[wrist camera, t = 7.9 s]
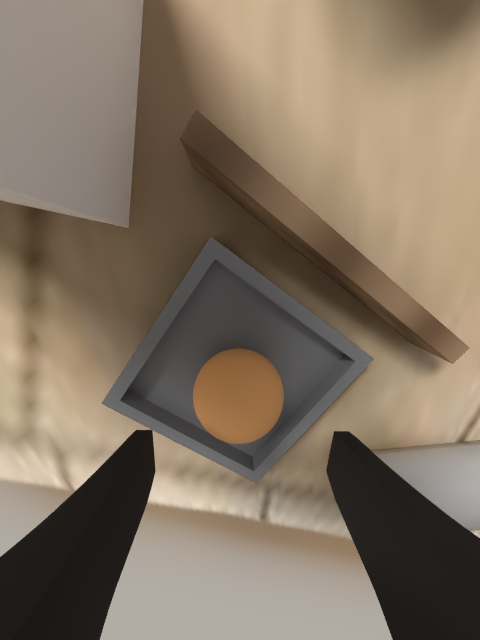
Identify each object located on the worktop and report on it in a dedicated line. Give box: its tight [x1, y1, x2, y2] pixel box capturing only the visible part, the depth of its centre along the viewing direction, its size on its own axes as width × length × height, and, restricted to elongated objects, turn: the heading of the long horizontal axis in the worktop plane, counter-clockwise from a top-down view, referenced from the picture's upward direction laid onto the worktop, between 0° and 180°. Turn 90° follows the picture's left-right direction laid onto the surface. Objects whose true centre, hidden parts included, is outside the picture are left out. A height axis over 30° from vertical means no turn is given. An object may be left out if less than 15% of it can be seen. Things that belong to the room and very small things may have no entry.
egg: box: [193, 348, 284, 444], centre depth 13 cm, size 5×5×5 cm
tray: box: [102, 237, 374, 483], centre depth 15 cm, size 12×12×2 cm
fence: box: [180, 110, 469, 364], centre depth 13 cm, size 18×1×3 cm, turn 54°
